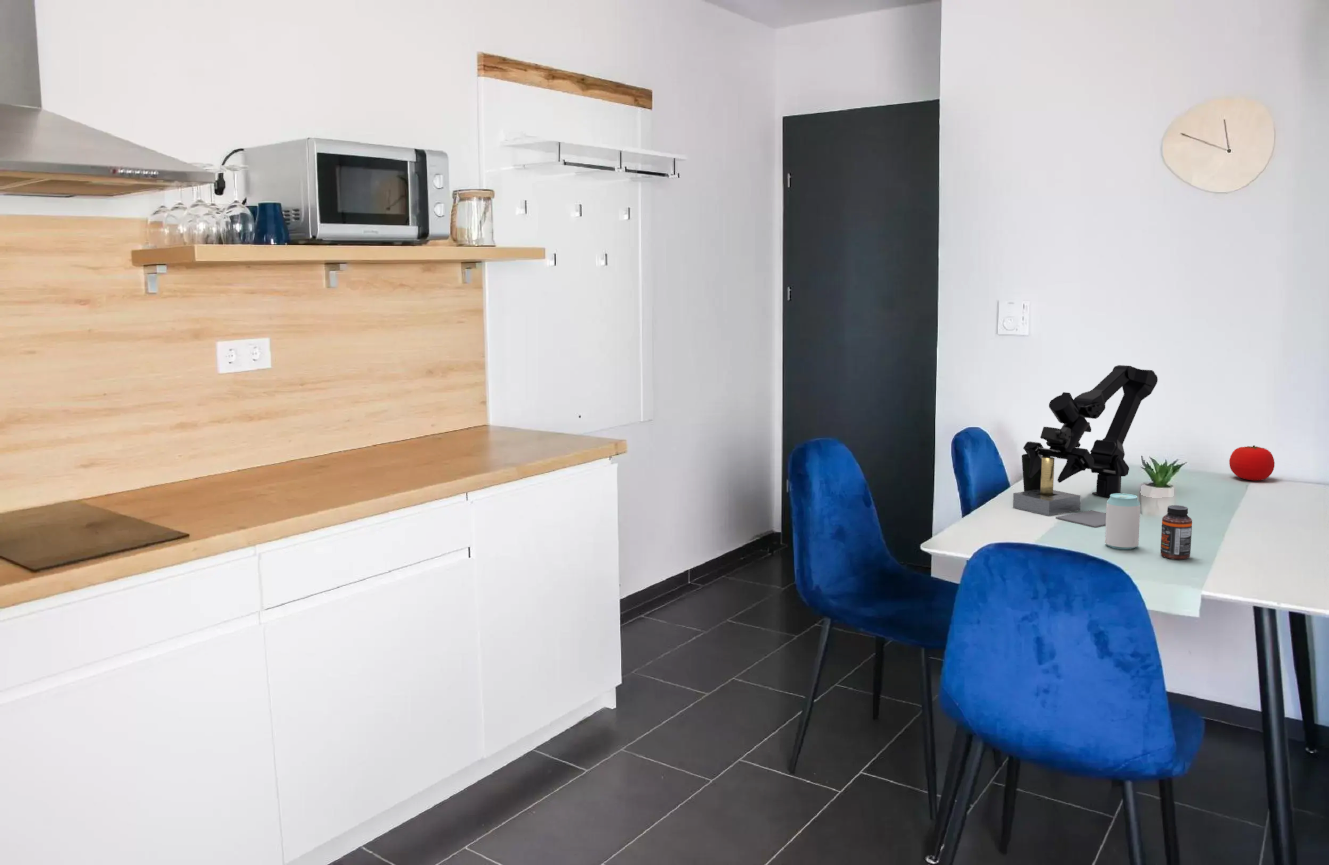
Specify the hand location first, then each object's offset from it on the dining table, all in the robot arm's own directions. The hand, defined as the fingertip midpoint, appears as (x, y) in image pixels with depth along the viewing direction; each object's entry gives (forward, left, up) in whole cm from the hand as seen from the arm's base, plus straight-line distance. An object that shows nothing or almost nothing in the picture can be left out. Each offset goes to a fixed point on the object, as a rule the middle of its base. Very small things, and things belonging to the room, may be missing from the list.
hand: (1043, 479), depth 268 cm
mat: (-1, +15, -8) cm, 17 cm away
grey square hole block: (-1, 0, -8) cm, 8 cm away
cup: (-11, -12, -9) cm, 19 cm away
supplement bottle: (+14, +48, -9) cm, 51 cm away
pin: (-1, 0, -8) cm, 8 cm away
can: (+16, +36, -9) cm, 40 cm away
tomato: (-82, +7, -9) cm, 83 cm away
